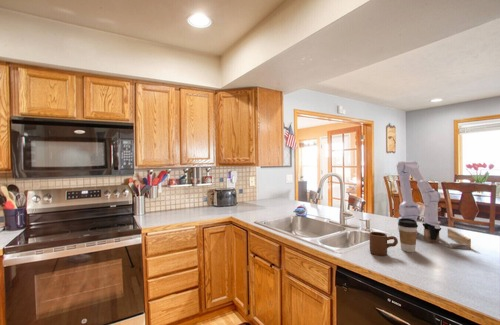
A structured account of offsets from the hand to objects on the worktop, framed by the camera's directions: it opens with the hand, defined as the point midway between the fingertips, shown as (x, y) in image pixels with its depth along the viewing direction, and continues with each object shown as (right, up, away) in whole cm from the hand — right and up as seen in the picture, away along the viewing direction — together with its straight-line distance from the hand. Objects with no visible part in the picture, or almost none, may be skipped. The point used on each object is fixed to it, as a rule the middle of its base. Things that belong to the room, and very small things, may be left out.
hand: (431, 238), depth 132 cm
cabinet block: (0, -2, 0) cm, 2 cm away
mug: (-35, -3, -16) cm, 39 cm away
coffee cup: (-21, -2, -12) cm, 24 cm away
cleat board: (+9, -2, -2) cm, 9 cm away
